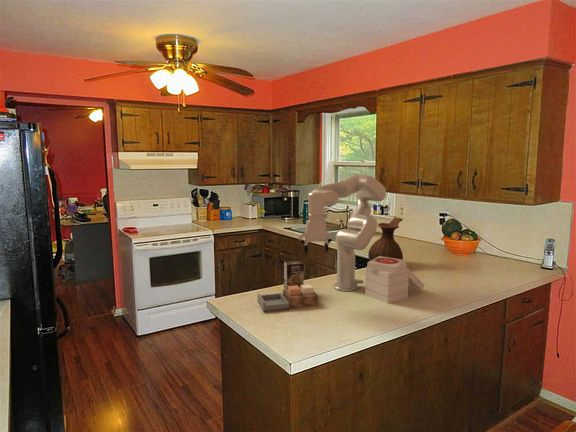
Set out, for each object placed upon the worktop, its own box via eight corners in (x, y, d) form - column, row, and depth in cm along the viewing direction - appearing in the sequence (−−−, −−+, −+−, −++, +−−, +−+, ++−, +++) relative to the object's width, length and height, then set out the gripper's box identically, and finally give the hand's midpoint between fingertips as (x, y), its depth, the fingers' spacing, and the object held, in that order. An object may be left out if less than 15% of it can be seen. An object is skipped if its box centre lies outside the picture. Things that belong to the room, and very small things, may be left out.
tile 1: (297, 290, 200) (297, 285, 199) (300, 294, 195) (300, 288, 195) (287, 291, 198) (287, 286, 198) (290, 295, 194) (290, 289, 193)
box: (281, 298, 203) (281, 291, 202) (289, 309, 190) (289, 301, 189) (257, 301, 200) (257, 293, 199) (263, 312, 187) (263, 303, 186)
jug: (407, 271, 250) (409, 222, 245) (371, 270, 250) (373, 222, 245) (398, 261, 271) (400, 216, 266) (365, 261, 272) (367, 216, 267)
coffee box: (286, 295, 208) (286, 264, 205) (283, 291, 214) (283, 261, 211) (303, 293, 210) (304, 263, 207) (300, 289, 216) (300, 260, 214)
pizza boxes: (427, 293, 212) (429, 259, 209) (387, 305, 195) (389, 268, 192) (398, 283, 227) (399, 251, 224) (358, 293, 210) (360, 259, 207)
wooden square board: (309, 296, 206) (309, 287, 205) (317, 305, 195) (317, 295, 194) (282, 299, 202) (282, 289, 201) (289, 308, 191) (289, 298, 190)
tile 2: (310, 289, 202) (310, 284, 201) (313, 293, 197) (313, 287, 196) (300, 290, 200) (300, 285, 200) (303, 294, 195) (303, 288, 195)
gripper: (331, 215, 200) (331, 249, 203) (296, 217, 198) (297, 251, 201) (335, 218, 193) (335, 253, 196) (299, 219, 191) (299, 255, 194)
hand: (316, 252), depth 198 cm, fingers open, 9 cm apart
